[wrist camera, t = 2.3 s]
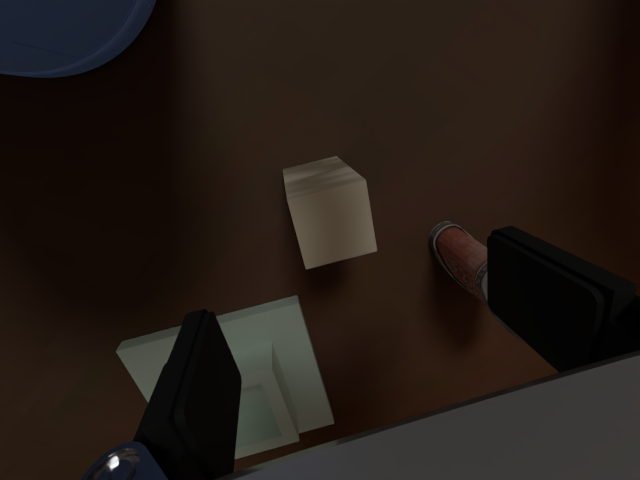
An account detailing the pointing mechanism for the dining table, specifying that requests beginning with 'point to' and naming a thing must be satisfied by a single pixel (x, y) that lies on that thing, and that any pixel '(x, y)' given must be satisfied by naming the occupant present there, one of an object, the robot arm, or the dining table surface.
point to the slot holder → (254, 372)
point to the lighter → (463, 261)
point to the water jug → (66, 34)
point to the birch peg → (329, 211)
